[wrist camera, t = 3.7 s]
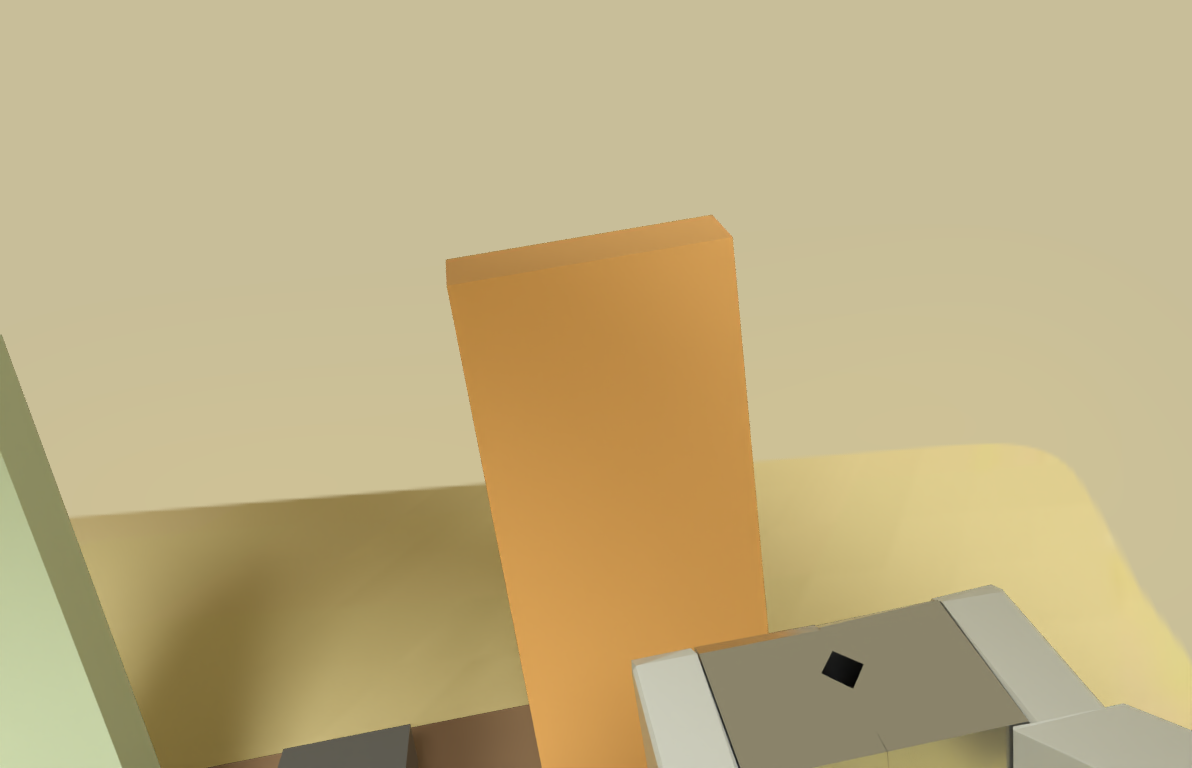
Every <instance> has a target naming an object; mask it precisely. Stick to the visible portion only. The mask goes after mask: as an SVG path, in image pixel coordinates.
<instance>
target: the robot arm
mask: <svg viewBox="0 0 1192 768" xmlns="http://www.w3.org/2000/svg"><path fill="white" fill-rule="evenodd" d="M631 664H632V678H633V684H634V690H635V696H636V702H637V708H638V714H639V720H640V726H641V732H642V738H643V744H644V750H645V756H646V762H647V768H1192V730H1189V729H1187V728H1184V727H1182V726H1179V725H1177V724H1174V723H1171V722H1169V721H1166V720H1164V719H1161V718H1159V717H1156V716H1154V715H1151V714H1149V713H1146V712H1144V711H1141V710H1139V709H1136V708H1134V707H1131V706H1129V705H1126V704H1119V705H1114V706H1110V707H1104V706H1103V705H1102V703H1101V702H1100V701H1099V700H1098V699H1097V698H1096V696H1095V695H1094V694H1093V693H1092V692H1091V691H1090V690H1089V688H1088V687H1087V686H1086V685H1085V684H1084V683H1083V682H1082V680H1081V679H1080V678H1079V677H1078V676H1077V675H1076V674H1075V672H1074V671H1073V670H1072V669H1071V668H1070V667H1069V665H1068V664H1067V663H1066V662H1065V661H1064V660H1063V659H1062V657H1061V656H1060V655H1059V654H1058V653H1057V652H1056V651H1055V649H1054V648H1053V647H1052V646H1051V645H1050V644H1049V643H1048V641H1047V640H1046V639H1045V638H1044V637H1043V636H1042V634H1041V633H1040V632H1039V631H1038V630H1037V629H1036V628H1035V626H1034V625H1033V624H1032V623H1031V622H1030V621H1029V620H1028V618H1027V617H1026V616H1025V615H1024V614H1023V613H1022V612H1021V610H1020V609H1019V608H1018V607H1017V606H1016V605H1015V603H1014V602H1013V601H1012V600H1011V599H1010V598H1009V597H1008V595H1007V594H1006V593H1005V592H1004V591H1003V590H1002V589H1000V588H998V587H995V586H993V585H987V586H983V587H979V588H975V589H970V590H966V591H962V592H958V593H954V594H949V595H945V596H941V597H937V598H933V599H931V601H929V602H924V603H920V604H915V605H910V606H906V607H901V608H896V609H892V610H887V611H882V612H878V613H873V614H868V615H864V616H859V617H854V618H850V619H845V620H840V621H836V622H831V623H826V624H822V625H817V626H815V625H811V626H806V627H801V628H795V629H790V630H784V631H779V632H774V633H768V634H763V635H757V636H752V637H747V638H741V639H736V640H730V641H725V642H720V643H714V644H709V645H703V646H698V647H694V651H693V650H692V649H691V648H688V649H684V650H679V651H674V652H669V653H664V654H659V655H654V656H649V657H644V658H639V659H634V660H631Z"/></svg>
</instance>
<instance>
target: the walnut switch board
mask: <svg viewBox="0 0 1192 768" xmlns="http://www.w3.org/2000/svg"><path fill="white" fill-rule="evenodd" d="M411 730H412V734H413V739H414V744H415V748H416V753H417V758H418V768H542V766H541V761H540V756H539V751H538V746H537V741H536V736H535V731H534V726H533V720H532V715H531V710H530V705H524V706H518V707H513V708H508V709H503V710H498V711H493V712H488V713H483V714H478V715H473V716H468V717H463V718H457V719H452V720H447V721H442V722H437V723H432V724H427V725H422V726H417V727H412V728H411ZM281 755H282V753H280V754H274V755H269V756H264V757H259V758H254V759H249V760H244V761H239V762H234V763H229V764H224V765H218V766H213V767H208V768H278V765H279V761H280V758H281Z"/></svg>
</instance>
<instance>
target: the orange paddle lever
mask: <svg viewBox="0 0 1192 768" xmlns="http://www.w3.org/2000/svg"><path fill="white" fill-rule="evenodd" d="M446 277H447V290H448V295H449V300H450V305H451V309H452V315H453V320H454V325H455V330H456V335H457V340H458V345H459V350H460V355H461V360H462V366H463V371H464V375H465V381H466V386H467V390H468V396H469V401H470V406H471V411H472V416H473V421H474V426H475V431H476V437H477V442H478V447H479V452H480V456H481V462H482V467H483V472H484V477H485V482H486V487H487V492H488V497H489V502H490V508H491V513H492V518H493V523H494V528H495V533H496V538H497V543H498V548H499V553H500V558H501V563H502V568H503V573H504V579H505V584H506V589H507V594H508V599H509V604H510V609H511V614H512V619H513V624H514V629H515V634H516V639H517V644H518V649H519V655H520V660H521V665H522V670H523V675H524V680H525V685H526V690H527V695H528V700H529V705H530V710H531V715H532V720H533V726H534V731H535V736H536V741H537V746H538V751H539V756H540V761H541V766H542V768H647V762H646V756H645V750H644V744H643V738H642V732H641V726H640V720H639V714H638V708H637V702H636V696H635V690H634V684H633V678H632V664H631V660H634V659H639V658H644V657H649V656H654V655H659V654H664V653H669V652H674V651H679V650H684V649H688V648H691V649H692V650H693V651H694V647H698V646H703V645H709V644H714V643H720V642H725V641H730V640H736V639H741V638H747V637H752V636H757V635H763V634H768V623H767V612H766V601H765V589H764V578H763V567H762V556H761V545H760V534H759V523H758V512H757V501H756V490H755V479H754V468H753V457H752V446H751V435H750V424H749V413H748V401H747V390H746V379H745V369H744V358H743V346H742V336H741V324H740V314H739V304H738V303H739V302H738V291H737V280H736V269H735V258H734V247H733V237H732V236H731V235H730V234H729V233H728V232H727V230H725V228H724V227H723V226H722V225H721V224H720V223H719V222H718V221H717V220H716V219H715V218H714V216H713V215H708V216H702V217H696V218H690V219H684V220H678V221H672V222H666V223H660V224H654V225H648V226H642V227H636V228H630V229H625V230H619V231H613V232H607V233H602V234H595V235H589V236H583V237H577V238H571V239H565V240H559V241H554V242H547V243H542V244H536V245H530V246H524V247H519V248H512V249H507V250H500V251H494V252H488V253H482V254H476V255H470V256H465V257H459V258H453V259H447V260H446Z"/></svg>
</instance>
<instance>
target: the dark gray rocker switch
mask: <svg viewBox="0 0 1192 768" xmlns="http://www.w3.org/2000/svg"><path fill="white" fill-rule="evenodd" d="M278 768H418V758H417V753H416V748H415V744H414V739H413V734H412V730H411V725H410V724H409V725H403V726H398V727H393V728H388V729H383V730H378V731H373V732H368V733H363V734H358V735H353V736H347V737H342V738H337V739H332V740H327V741H322V742H317V743H312V744H307V745H302V746H297V747H291V748H286V749H283V752H282V755H281V758H280V761H279V765H278Z"/></svg>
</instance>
